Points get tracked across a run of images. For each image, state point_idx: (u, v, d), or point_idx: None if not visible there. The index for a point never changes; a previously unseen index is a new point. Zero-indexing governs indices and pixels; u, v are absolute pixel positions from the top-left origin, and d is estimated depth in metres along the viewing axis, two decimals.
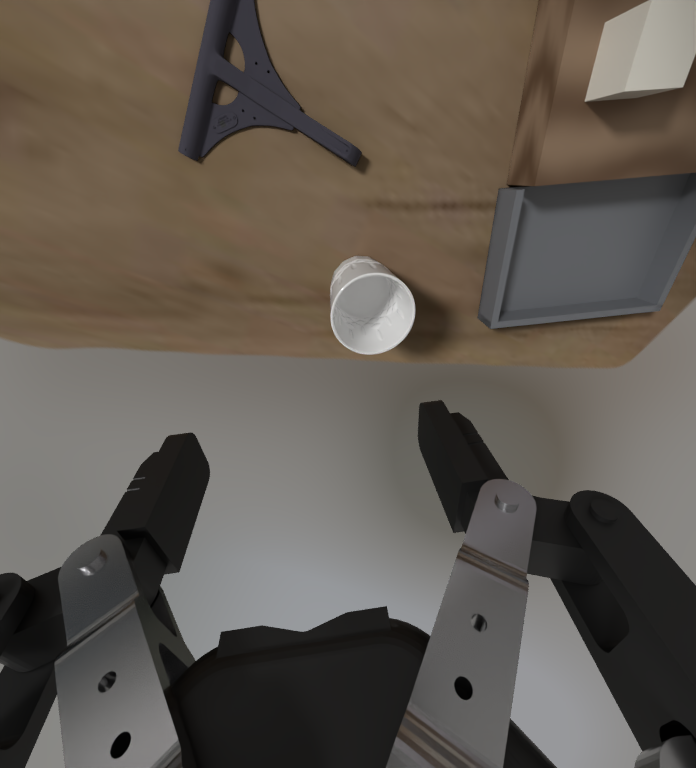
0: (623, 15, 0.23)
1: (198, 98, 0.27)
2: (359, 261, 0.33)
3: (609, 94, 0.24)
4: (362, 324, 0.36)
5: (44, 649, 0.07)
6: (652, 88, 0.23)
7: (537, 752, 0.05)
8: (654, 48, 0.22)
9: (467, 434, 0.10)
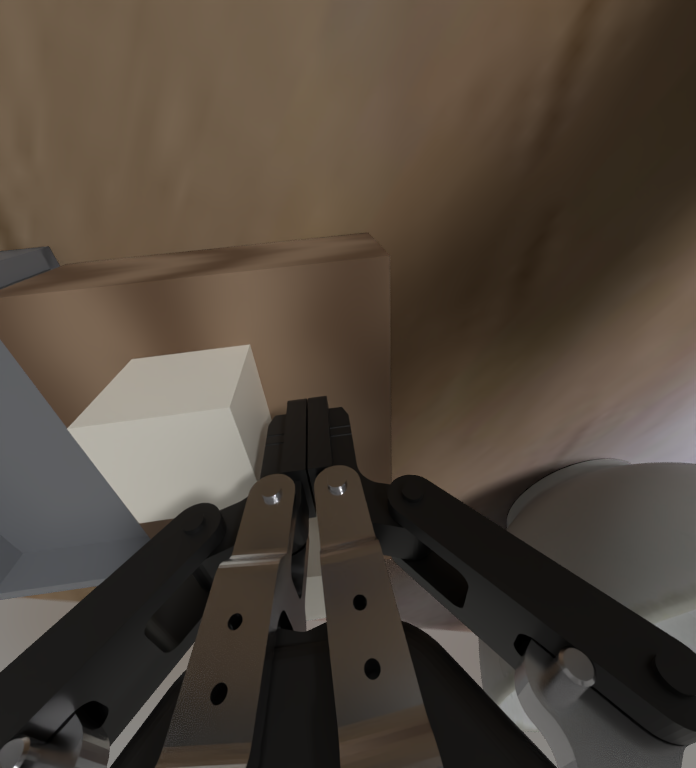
0: (238, 368, 0.11)
1: None
2: None
3: (96, 399, 0.10)
4: None
5: None
6: (107, 479, 0.10)
7: (537, 752, 0.05)
8: (164, 450, 0.10)
9: (341, 426, 0.11)
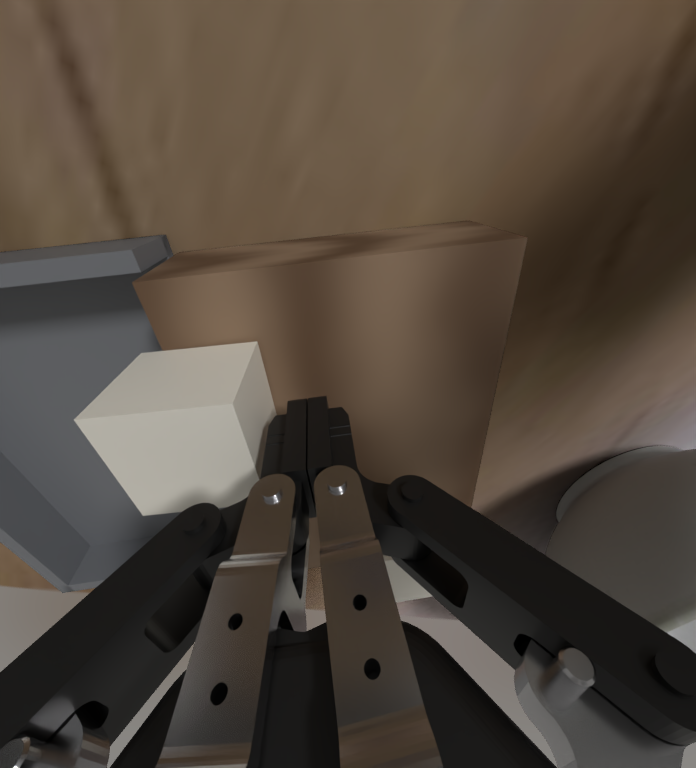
0: (244, 364, 0.11)
1: None
2: None
3: (103, 391, 0.10)
4: None
5: None
6: (112, 470, 0.10)
7: (537, 752, 0.05)
8: (167, 444, 0.10)
9: (341, 426, 0.11)
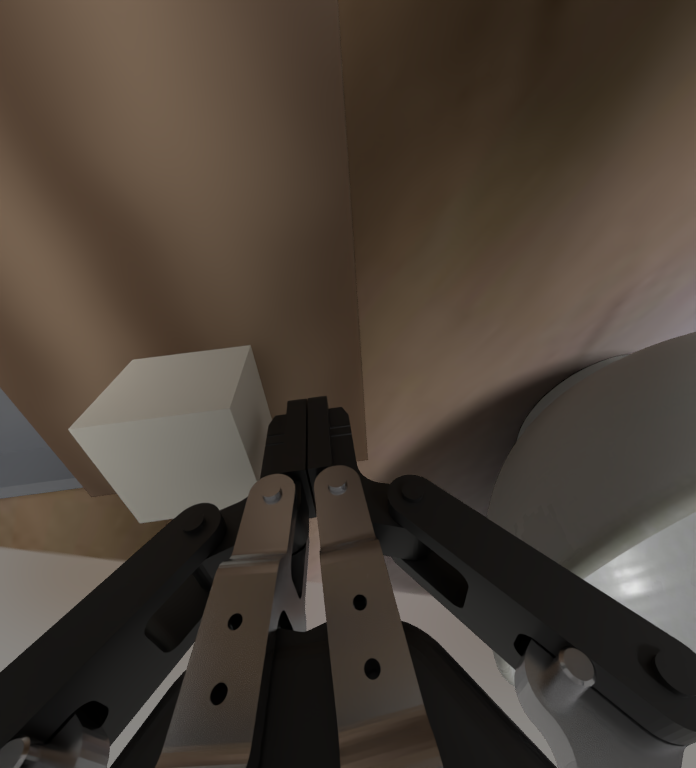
0: None
1: None
2: None
3: None
4: None
5: None
6: None
7: (537, 752, 0.05)
8: None
9: (341, 426, 0.11)
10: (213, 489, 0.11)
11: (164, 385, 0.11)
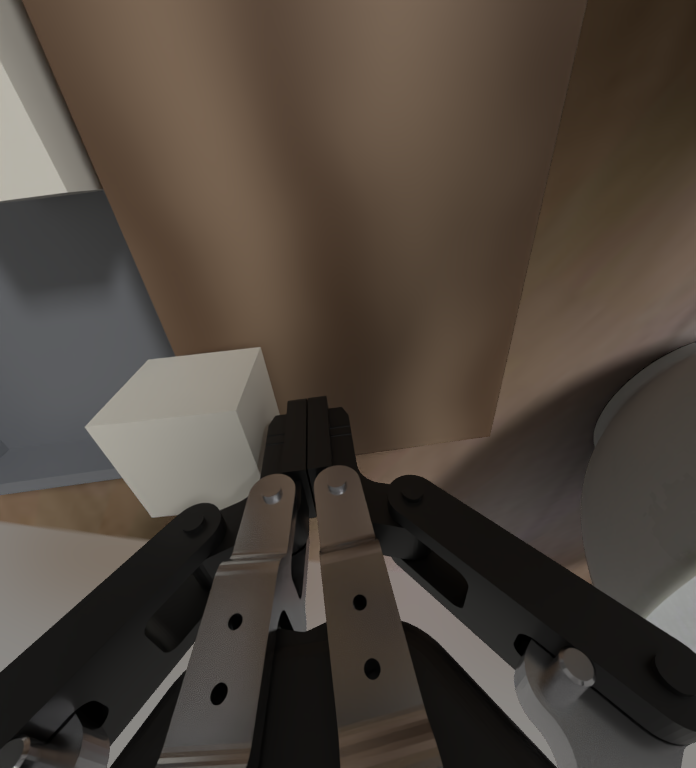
0: None
1: None
2: None
3: None
4: None
5: None
6: None
7: (537, 752, 0.05)
8: None
9: (341, 426, 0.11)
10: (221, 488, 0.11)
11: (176, 386, 0.11)
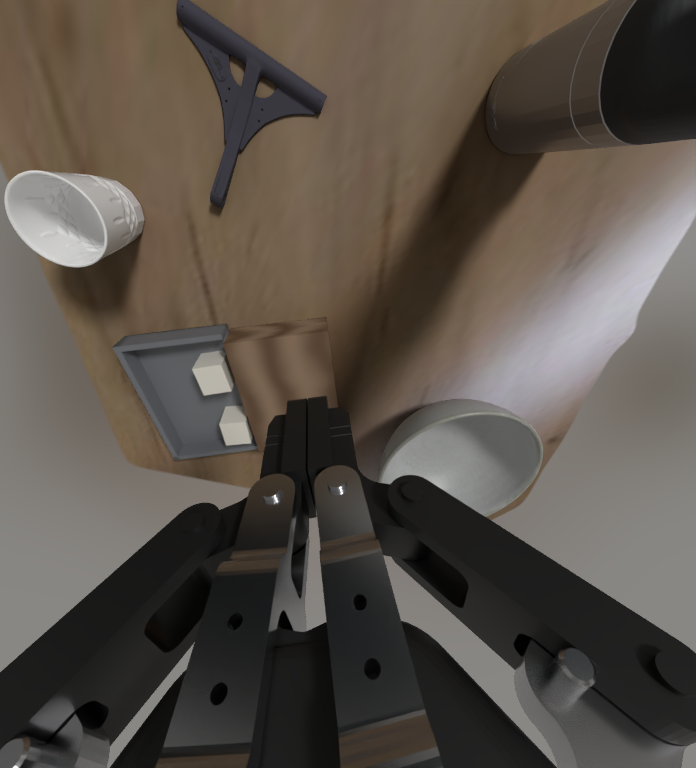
0: (208, 366, 0.44)
1: (227, 38, 0.30)
2: (127, 207, 0.34)
3: (210, 352, 0.48)
4: (61, 215, 0.34)
5: None
6: None
7: (537, 752, 0.05)
8: None
9: (341, 426, 0.11)
10: None
11: (233, 413, 0.52)
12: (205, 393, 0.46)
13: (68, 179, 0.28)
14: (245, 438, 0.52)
